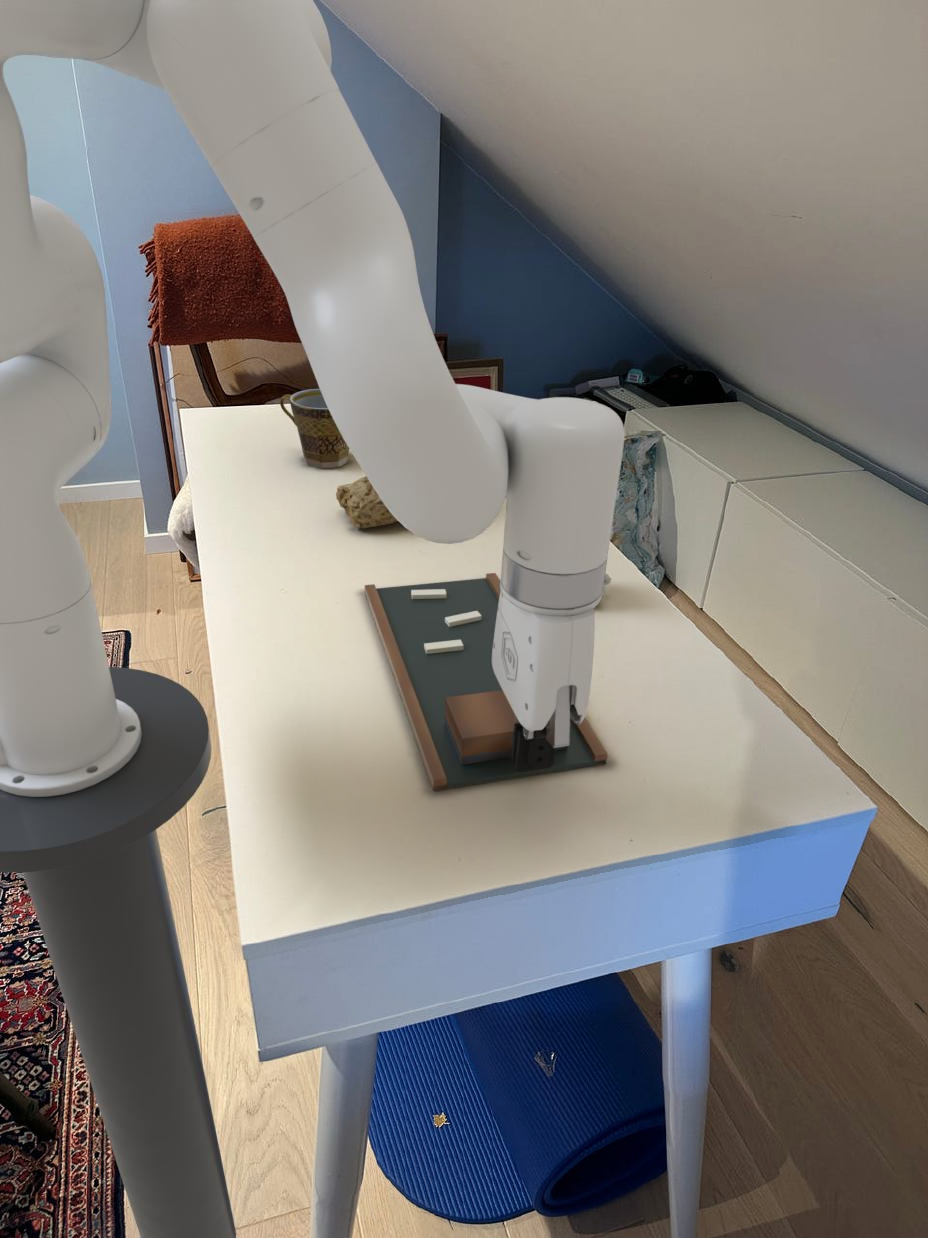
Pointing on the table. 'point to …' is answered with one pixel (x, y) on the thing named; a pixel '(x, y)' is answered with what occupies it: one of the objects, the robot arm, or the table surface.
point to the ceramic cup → (316, 430)
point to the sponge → (363, 504)
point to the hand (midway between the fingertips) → (531, 763)
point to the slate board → (454, 675)
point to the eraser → (481, 726)
